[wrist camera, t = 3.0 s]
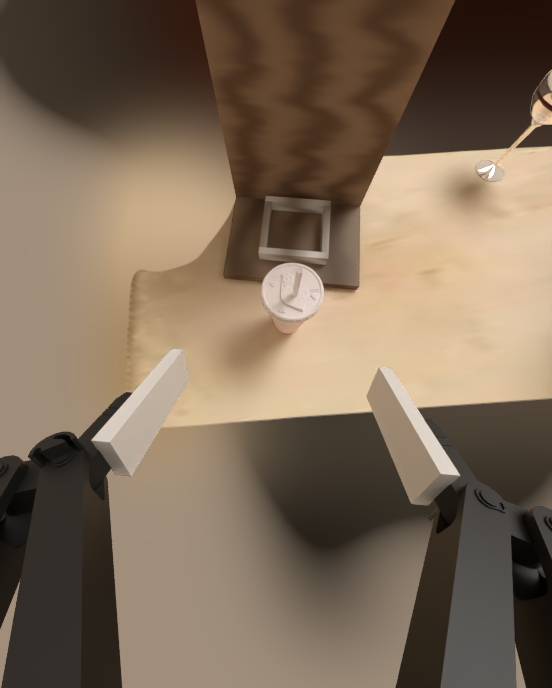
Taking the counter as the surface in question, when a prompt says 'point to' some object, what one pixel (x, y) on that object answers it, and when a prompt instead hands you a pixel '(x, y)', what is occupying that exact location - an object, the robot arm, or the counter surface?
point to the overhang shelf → (310, 119)
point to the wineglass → (545, 109)
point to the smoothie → (291, 295)
